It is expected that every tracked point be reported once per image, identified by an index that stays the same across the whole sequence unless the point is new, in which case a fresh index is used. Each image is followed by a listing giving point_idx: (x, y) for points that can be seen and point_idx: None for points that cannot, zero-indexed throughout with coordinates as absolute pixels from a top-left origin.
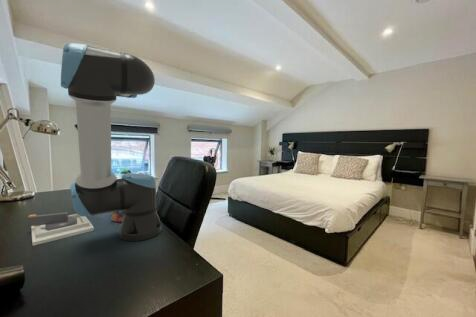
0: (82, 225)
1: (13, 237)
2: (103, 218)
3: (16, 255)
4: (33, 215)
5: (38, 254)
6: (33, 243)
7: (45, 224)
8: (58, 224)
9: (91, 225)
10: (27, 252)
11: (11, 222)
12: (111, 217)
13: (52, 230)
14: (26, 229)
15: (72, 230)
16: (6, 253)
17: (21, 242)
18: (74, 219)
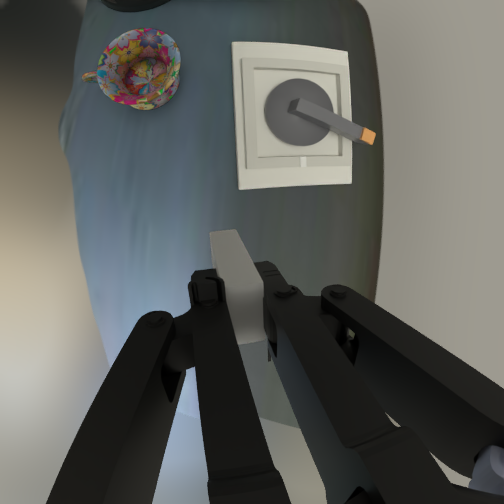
0: (258, 58)
1: None
2: (192, 124)
3: (360, 34)
4: (366, 132)
5: (332, 9)
6: (344, 51)
7: (328, 154)
8: (309, 94)
9: (235, 60)
10: (347, 31)
11: (372, 248)
12: (176, 83)
13: (320, 66)
14: (355, 170)
15: (279, 57)
16: (373, 56)
17: (360, 89)
18: (273, 107)
